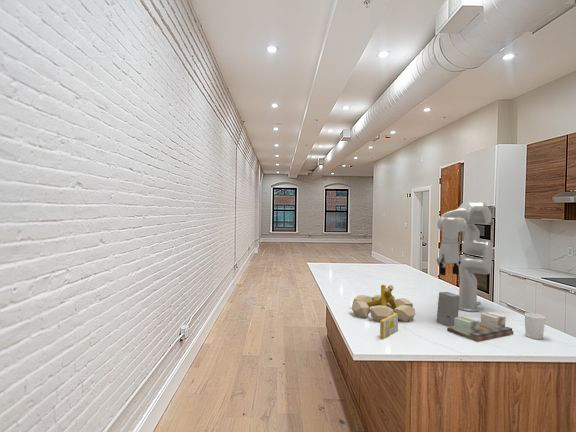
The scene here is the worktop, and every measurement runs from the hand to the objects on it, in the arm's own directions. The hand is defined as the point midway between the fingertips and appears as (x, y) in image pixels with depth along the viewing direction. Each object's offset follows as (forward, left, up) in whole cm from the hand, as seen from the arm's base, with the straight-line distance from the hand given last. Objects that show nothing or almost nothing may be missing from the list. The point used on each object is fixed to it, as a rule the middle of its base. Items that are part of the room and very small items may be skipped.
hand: (449, 274), depth 185 cm
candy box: (+40, +1, -26) cm, 48 cm away
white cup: (-22, +30, -26) cm, 45 cm away
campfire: (+20, -27, -26) cm, 43 cm away
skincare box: (0, 0, -26) cm, 26 cm away
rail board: (-3, +16, -26) cm, 30 cm away
